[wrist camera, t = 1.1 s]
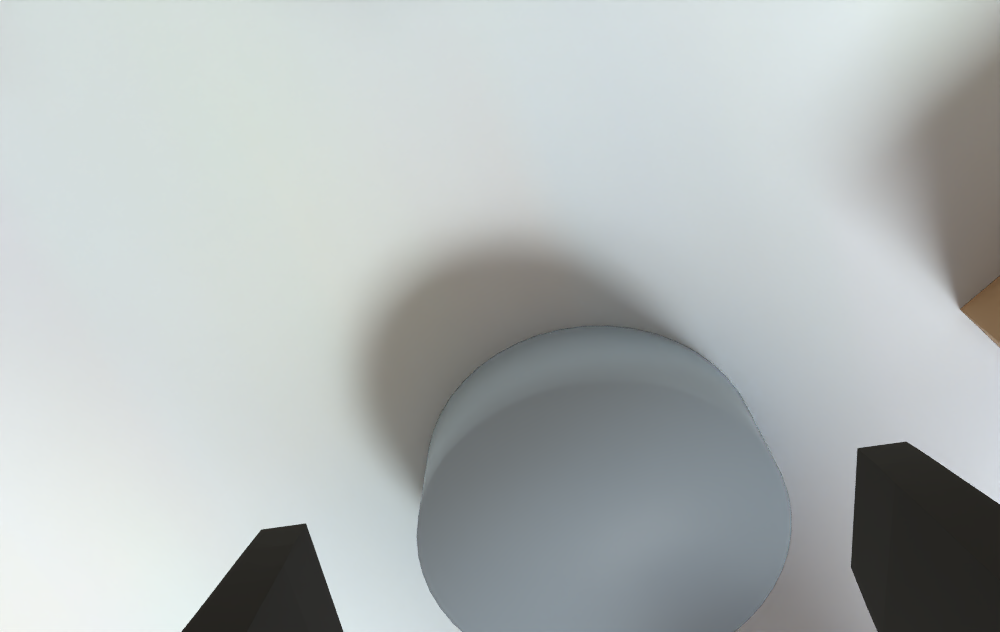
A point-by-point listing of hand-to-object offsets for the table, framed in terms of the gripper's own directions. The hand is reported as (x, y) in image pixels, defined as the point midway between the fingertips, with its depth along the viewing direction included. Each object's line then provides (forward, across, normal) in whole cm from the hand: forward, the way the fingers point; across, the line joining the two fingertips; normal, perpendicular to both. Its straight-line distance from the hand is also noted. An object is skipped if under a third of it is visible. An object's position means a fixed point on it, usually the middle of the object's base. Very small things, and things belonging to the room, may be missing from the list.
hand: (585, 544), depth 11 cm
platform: (+10, -1, +7) cm, 12 cm away
